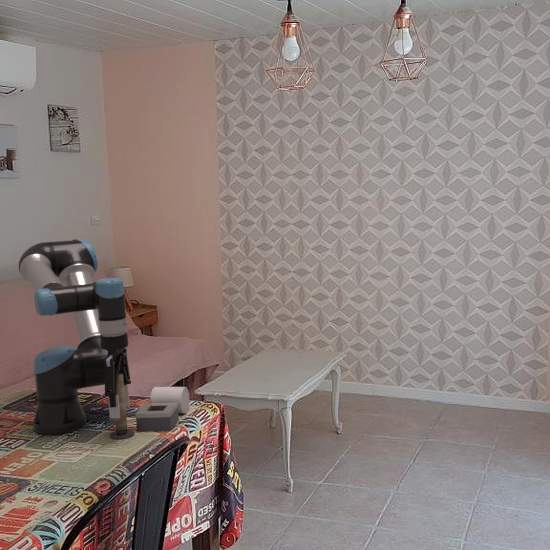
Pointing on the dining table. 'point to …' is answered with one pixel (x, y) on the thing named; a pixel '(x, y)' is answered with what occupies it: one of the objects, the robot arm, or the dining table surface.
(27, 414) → the dining table surface
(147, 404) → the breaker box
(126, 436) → the coaster
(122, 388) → the brown upright bar
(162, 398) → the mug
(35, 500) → the dining table surface
